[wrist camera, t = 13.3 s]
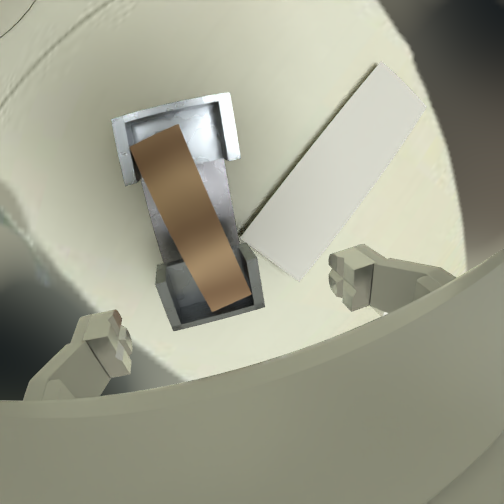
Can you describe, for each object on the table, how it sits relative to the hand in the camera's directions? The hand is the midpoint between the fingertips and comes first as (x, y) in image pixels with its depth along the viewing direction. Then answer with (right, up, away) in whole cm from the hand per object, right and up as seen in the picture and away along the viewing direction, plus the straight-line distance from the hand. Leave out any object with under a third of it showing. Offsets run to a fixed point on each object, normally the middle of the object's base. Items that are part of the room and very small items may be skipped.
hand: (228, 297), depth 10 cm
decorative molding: (+13, +15, +27) cm, 34 cm away
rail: (-5, +5, +15) cm, 17 cm away
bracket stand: (-7, +9, +23) cm, 26 cm away
